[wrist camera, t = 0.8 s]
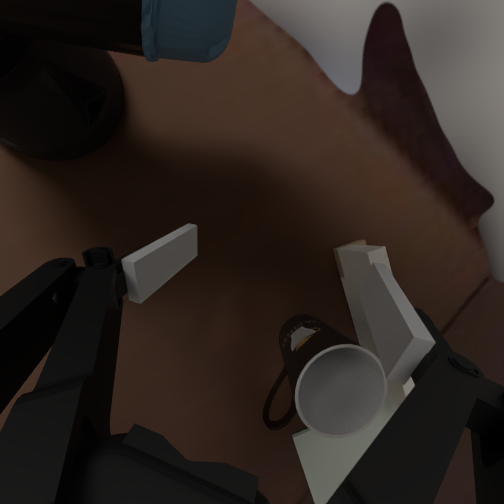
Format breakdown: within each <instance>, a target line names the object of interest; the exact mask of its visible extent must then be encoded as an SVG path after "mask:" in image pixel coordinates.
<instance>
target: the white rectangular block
mask: <svg viewBox="0 0 504 504" xmlns="http://www.w3.org/2000/svg"><path fill="white" fill-rule="evenodd" d="M333 253H334V256H335V260H336V263H337V267H338V270H339V274H340V277H341V281H342V284H343V288H344V291H345V295H346V299H347V302H348V306H349V309H350V313H351V316H352V320H353V323H354V327H355V330H356V334H357V337H358V341H359V344H360V345H361V346H363V347H364V348H366V349H368V350H369V351H370V352H372V353H373V354H375V356H376V357H377V358H378V359H379V360H380V358H379V355H378V352H377V349H376V346H375V343H374V339H373V336H372V333H371V330H370V327H369V324H368V321H367V317H366V314H365V311H364V308H363V305H362V302H361V299H360V295H359V293H360V291H361V289H362V286H363V284H364V282H365V279H366V277H367V275H368V272H369V270H370V268H371V265H372V263H373V262H376V263H381V264H385V265H386V266H387V268H388V270H389V271H390V273H391V274H392V271H391V268H390V264H389V260H388V256H387V252H386V248H385V246H369V245H366V241H365V240H357V241H354V242H351V243H348V244H345V245H342V246H340V247H337V248H334V249H333ZM392 276H393V275H392ZM387 383H388V388H387V396H386V398H387V399H388V400H389V401H390V402H391V403H392V404H393V405H394V406H395V407H396V408H397V409H398V407H399V406H400V405H401V403H402V402H403V401H404V399H405V398H406V397H407V395H408V394H409V393H410V391H411V390H412V389H413V387H414V386H415V385H414V382H413V380H412V378H411V377H410V378H409V380H408V381H407V383H406V384H405V385H403V384H400V383H396V382H393V381H390V380H387Z"/></svg>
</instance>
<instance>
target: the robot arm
mask: <svg viewBox="0 0 504 504" xmlns="http://www.w3.org/2000/svg"><path fill="white" fill-rule="evenodd" d="M236 5H237V0H0V144H2V145H5V146H7V147H9V148H12V149H14V150H17V151H19V152H21V153H24V154H26V155H29V156H32V157H36V158H40V159H46V160H67V159H73V158H77V157H80V156H83V155H85V154H88V153H90V152H91V151H93V150H95V149H96V148H98V147H99V146H100V145H102V144H103V143H104V142H105V141H106V140H107V139H108V138H109V136H110V135H111V134H112V132H113V131H114V129H115V127H116V125H117V123H118V121H119V118H120V115H121V111H122V105H123V89H122V82H121V78H120V75H119V72H118V69H117V67H116V65H115V63H114V61H113V59H112V57H111V56H110V54H109V53H108V51H114V52H119V53H125V54H131V55H137V56H142V57H145V58H146V60H147V61H151V62H155V61H158V59H159V58H163V59H172V60H182V61H191V62H200V63H206V62H210V61H213V60H215V59H216V58H218V57H219V56H220V55H221V54H222V53H223V51H224V50H225V49H226V47H227V45H228V43H229V40H230V37H231V34H232V29H233V23H234V18H235V11H236ZM107 50H108V51H107ZM82 255H83V258H84V262H85V265H86V267H76V264H75V261H74V259H71V258H58V259H53V260H51V261H48V262H46V263H44V264H43V265H42V266H40V267H39V268H38V269H36V270H35V271H34V272H32V273H31V274H30V275H28V276H27V277H26V278H24V279H23V280H22V281H20V282H19V283H18V284H16V285H15V286H14V287H12V288H11V289H10V290H8V291H7V292H6V293H4V294H3V295H2V296H0V414H1V413H2V411H3V410H4V409H5V407H6V406H7V405H8V403H9V402H10V401H11V400H12V398H13V397H14V396H15V394H16V393H17V392H18V390H19V389H20V388H21V386H22V385H23V384H24V382H25V381H26V380H27V378H28V377H29V376H30V374H31V373H32V372H33V370H34V369H35V368H36V367H37V365H38V364H39V363H40V361H41V360H42V359H43V357H44V356H45V355H46V353H47V352H48V351H49V349H50V348H51V347H52V349H51V351H50V353H49V356H48V358H47V360H46V363H45V365H44V367H43V370H42V372H41V374H40V377H39V379H38V381H37V384H36V386H35V388H34V390H33V391H32V392H29V393H25V394H22V395H21V396H20V397H19V398H18V399H17V400H16V402H15V403H14V405H13V407H12V409H11V411H10V413H9V415H8V417H7V419H6V421H5V423H4V426H3V428H2V430H1V432H0V504H271V503H270V502H269V501H268V500H267V498H266V497H265V496H264V495H263V494H262V493H261V492H260V491H259V490H258V489H257V485H258V479H259V478H258V477H256V476H254V475H251V474H249V473H247V472H245V471H242V470H240V469H238V468H235V467H233V466H231V465H229V464H226V463H215V462H198V461H189V460H187V459H186V458H184V457H183V456H182V455H181V454H180V453H179V452H178V451H177V450H176V449H175V448H174V447H173V446H172V445H171V444H170V443H169V442H168V441H167V440H166V439H165V438H164V437H163V436H162V435H160V434H158V433H156V432H153V431H151V430H149V429H146V428H144V427H142V426H140V425H137V424H134V425H133V427H132V428H131V430H130V431H129V433H122V434H115V435H111V434H110V412H111V404H112V395H113V387H114V378H115V369H116V361H117V352H118V343H119V335H120V326H121V317H122V309H123V297H122V296H123V295H125V294H126V293H127V292H128V297H129V301H132V302H136V303H139V304H141V303H142V302H143V301H145V300H146V299H147V298H148V297H149V296H150V295H152V294H153V293H154V292H155V291H156V290H158V289H159V288H160V287H161V286H162V285H163V284H165V283H166V282H167V281H168V280H169V279H170V278H172V277H173V276H174V275H175V274H176V273H177V272H179V271H180V270H181V269H182V268H183V267H185V266H186V265H187V264H188V263H189V262H190V261H192V260H193V259H194V258H195V257H196V256H197V225H194V224H189V223H188V224H186V225H184V226H183V227H181V228H179V229H177V230H175V231H173V232H171V233H170V234H168V235H166V236H164V237H162V238H160V239H158V240H156V241H155V242H153V243H151V244H149V245H146V246H142V247H140V248H138V249H136V250H135V251H132V252H130V254H129V253H128V254H126V255H124V256H123V257H121V258H119V259H117V260H114V255H113V251H112V249H111V248H109V247H95V248H91V249H88V250H86V251H84V252H83V253H82ZM359 295H360V299H361V302H362V305H363V308H364V311H365V314H366V317H367V321H368V324H369V327H370V330H371V333H372V336H373V339H374V343H375V346H376V349H377V352H378V355H379V358H380V361H381V364H382V368H383V371H384V374H385V377H386V379H387V380H390V381H393V382H396V383H400V384H403V385H405V384H406V383H407V381H408V380H409V378H410V377H411V378H412V380H413V382H414V385H415V386H414V387H413V389H412V390H411V391H410V393H409V394H408V395H407V397H406V398H405V399H404V401H403V402H402V403H401V405H400V406H399V407H398V409H397V410H396V411H395V413H394V414H393V415H392V417H391V418H390V419H389V421H388V422H387V423H386V424H385V426H384V427H383V428H382V430H381V431H380V432H379V434H378V435H377V436H376V438H375V439H374V440H373V442H372V443H371V444H370V446H369V447H368V448H367V450H366V451H365V452H364V454H363V455H362V456H361V458H360V459H359V460H358V462H357V463H356V464H355V466H354V467H353V468H352V470H351V471H350V472H349V474H348V475H347V476H346V477H345V479H344V480H343V481H342V483H341V484H340V485H339V487H338V488H337V489H336V491H335V492H334V493H333V495H332V496H331V497H330V499H329V500H328V501H327V503H326V504H433V502H434V499H435V497H436V495H437V492H438V490H439V487H440V485H441V483H442V480H443V478H444V475H445V473H446V471H447V468H448V466H449V463H450V461H451V459H452V456H453V454H454V452H455V449H456V447H457V444H458V442H459V440H460V437H461V435H462V432H463V430H464V428H465V427H467V428H469V429H470V430H471V441H472V453H473V465H474V478H475V490H476V502H477V504H504V387H503V386H501V385H499V384H497V383H495V382H493V381H491V380H488V379H486V378H484V375H483V373H482V372H481V370H480V369H479V368H478V367H477V366H476V365H475V364H474V363H473V362H471V361H470V360H468V359H467V358H466V357H464V356H462V355H460V354H458V353H455V352H453V350H452V349H451V348H450V346H449V345H448V343H447V342H446V340H445V339H444V338H443V336H442V335H441V333H440V332H438V329H437V328H436V326H434V324H433V322H432V321H431V319H430V318H429V316H427V315H426V314H425V313H424V312H423V311H421V310H420V309H418V308H414V307H412V305H411V304H410V302H409V300H408V299H407V297H406V296H405V294H404V293H403V291H402V290H401V288H400V287H399V285H398V283H397V282H396V280H395V279H394V277H393V276H392V274H391V273H390V271H389V270H388V268H387V266H386V265H385V264H381V263H376V262H373V263H372V265H371V268H370V270H369V272H368V275H367V277H366V279H365V282H364V284H363V286H362V289H361V291H360V293H359ZM53 297H54V299H53ZM52 345H53V346H52Z"/></svg>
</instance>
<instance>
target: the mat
mask: <svg viewBox="0 0 504 504" xmlns="http://www.w3.org/2000/svg"><path fill="white" fill-rule="evenodd" d="M396 410H397V408H396V407H395V406H394V405H393V404H392V403H391V402H390V401H389V400H388V399H387V398H386V400H385V403H384V405H383V407H382V409H381V411H380V413H379V414H378V416H377V417H376V419H375V420H374V421H373V422H372V423H371V424H370V425H369V426H367V427H366V428H365V429H363V430H362V431H360V432H358V433H356V434H354V435H351V436H347V437H344V438H329V437H324V436H321V435H318V434H316V433H315V432H313V431H312V430H310V429H309V428H307V429H305V430H302V431H300V432H297V433H295V434H293V435H292V437H293V440H294V443H295V446H296V449H297V452H298V455H299V458H300V461H301V464H302V467H303V470H304V473H305V476H306V479H307V482H308V485H309V488H310V491H311V494H312V497H313V500H314V503H315V504H326V503H327V501H328V500H329V499H330V497H331V496H332V495H333V493H334V492H335V491H336V489H337V488H338V487H339V485H340V484H341V483H342V481H343V480H344V479H345V477H346V476H347V475H348V474H349V472H350V471H351V470H352V468H353V467H354V466H355V464H356V463H357V462H358V460H359V459H360V458H361V456H362V455H363V454H364V452H365V451H366V450H367V448H368V447H369V446H370V444H371V443H372V442H373V440H374V439H375V438H376V436H377V435H378V434H379V432H380V431H381V430H382V428H383V427H384V426H385V424H386V423H387V422H388V421H389V419H390V418H391V417H392V415H393V414H394V413H395V411H396Z"/></svg>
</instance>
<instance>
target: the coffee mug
mask: <svg viewBox="0 0 504 504" xmlns="http://www.w3.org/2000/svg"><path fill="white" fill-rule="evenodd" d="M279 343H280V347H281V351H282V355H283V359H284V363H285V366H284V369H283V371H282V373H281V374H280V376H279V378H278V379H277V381H276V383H275V384H274V386H273V388H272V390H271V391H270V394H269V396H268V398H267V400H266V403H265V406H264V410H263V420H264V422H265V424H266V426H267V427H268V428H269V429H270V430H278V429H281V428H283V427H285V426H286V425H287V424H288V423H289V422H290V421H291V419H292V418H293V416H294V415H295V413H296V411H297V412H298V414H299V417H300V418H301V420H302V421H303V423H304V424H305V425H306V426H307V427H308V428H309V429H310V430H312V431H313V432H315V433H316V434H318V435H321V436H324V437H329V438H344V437H347V436H351V435H354V434H356V433H358V432H360V431H362V430H363V429H365V428H366V427H367V426H369V425H370V424H371V423H372V422H373V421H374V420H375V419H376V417H377V416H378V414H379V413H380V411H381V409H382V407H383V405H384V403H385V400H386V396H387V388H388V383H387V379H386V377H385V374H384V371H383V368H382V364H381V361H380V360H379V359H378V358H377V357H376V356H375V354H373V353H372V352H370V351H369V350H368V349H366V348H364V347H363V346H361V345H359V344H358V343H356V342H354V341H353V340H351V339H349V338H348V337H346V336H344V335H343V334H341V333H339V332H338V331H336V330H334V329H333V328H331V327H329V326H328V325H326V324H324V323H323V322H321V321H319V320H318V319H316V318H314V317H312V316H310V315H297V316H294V317H292V318H291V319H289V320H288V321H287V322H286V323H285V324H284V325H283V327H282V329H281V331H280V335H279ZM286 374H288V378H289V382H290V386H291V390H292V394H293V396H292V403H291V406H290V409H289V410H288V412H287V413H286V415H285V416H284V417H283V418H282V419H280V420H278V421H270V420H269V409H270V406H271V402H272V400H273V397H274V395H275V394H276V392H277V390H278V388H279V386H280V385H281V383H282V381H283V380H284V378H285V376H286Z"/></svg>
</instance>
